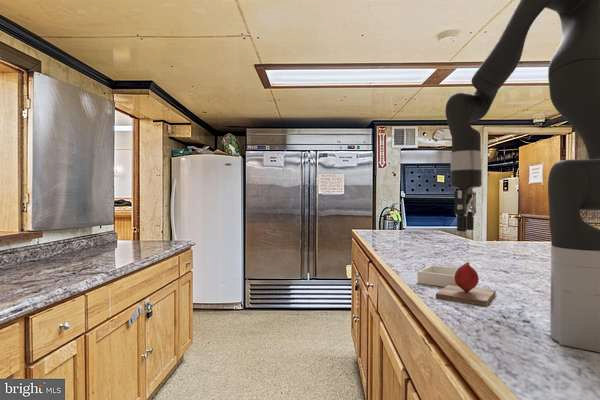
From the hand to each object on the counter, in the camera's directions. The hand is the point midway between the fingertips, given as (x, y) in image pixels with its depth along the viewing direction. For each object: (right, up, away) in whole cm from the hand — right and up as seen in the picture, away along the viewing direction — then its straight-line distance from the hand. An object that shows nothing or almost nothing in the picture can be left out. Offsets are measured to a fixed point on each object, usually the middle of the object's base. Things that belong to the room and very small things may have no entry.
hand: (465, 230), depth 99 cm
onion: (0, -17, 0) cm, 17 cm away
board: (0, -18, 0) cm, 18 cm away
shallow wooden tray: (+2, -17, +17) cm, 25 cm away
